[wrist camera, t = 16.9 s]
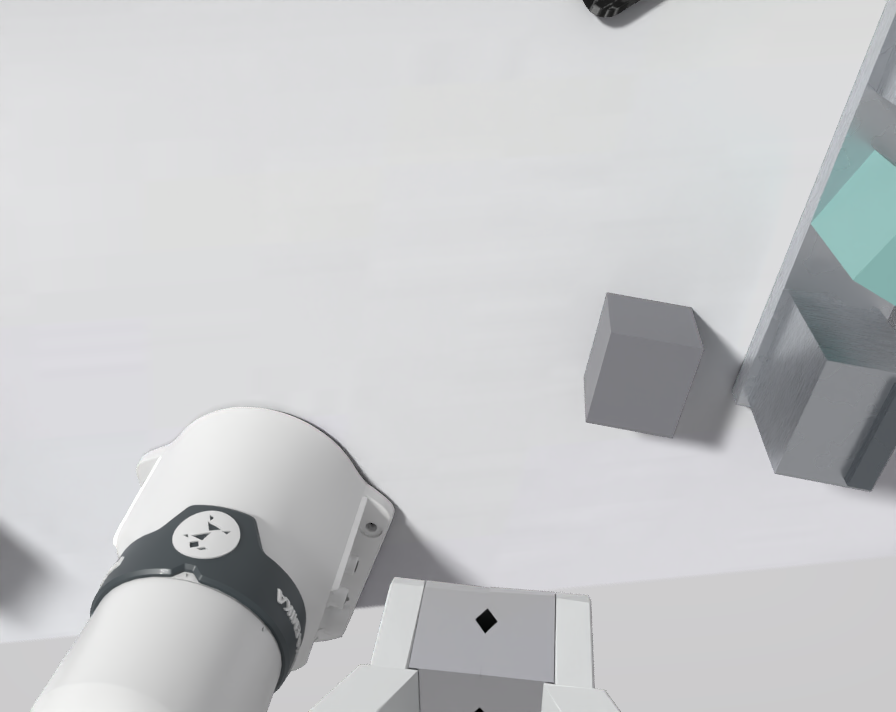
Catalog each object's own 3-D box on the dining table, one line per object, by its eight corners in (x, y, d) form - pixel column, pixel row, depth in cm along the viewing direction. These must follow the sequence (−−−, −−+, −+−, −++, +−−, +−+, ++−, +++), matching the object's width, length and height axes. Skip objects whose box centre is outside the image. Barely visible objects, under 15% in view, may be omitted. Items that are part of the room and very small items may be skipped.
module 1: (662, 390, 49) (672, 438, 45) (583, 376, 49) (585, 422, 45) (691, 306, 46) (704, 349, 42) (606, 291, 46) (611, 332, 42)
